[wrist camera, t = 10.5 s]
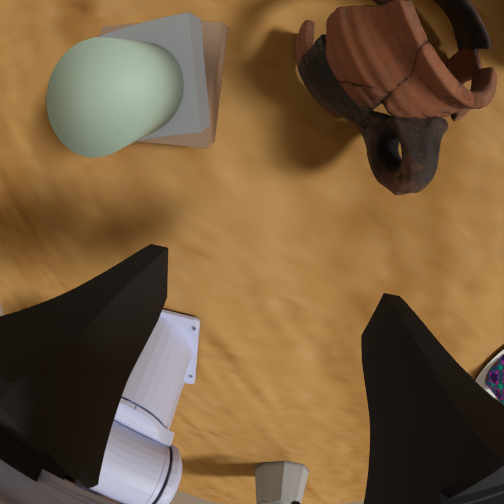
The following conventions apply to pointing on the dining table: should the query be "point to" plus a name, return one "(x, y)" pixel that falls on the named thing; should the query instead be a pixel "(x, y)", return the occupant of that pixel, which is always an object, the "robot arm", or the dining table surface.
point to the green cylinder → (112, 94)
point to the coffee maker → (280, 482)
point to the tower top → (191, 63)
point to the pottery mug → (396, 82)
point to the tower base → (214, 62)
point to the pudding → (494, 378)
